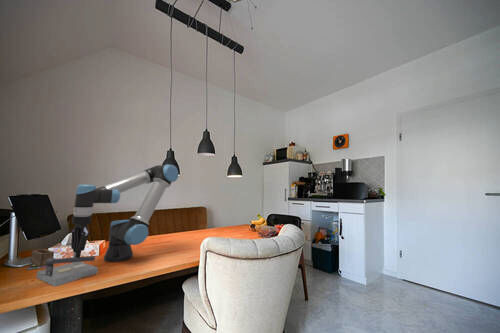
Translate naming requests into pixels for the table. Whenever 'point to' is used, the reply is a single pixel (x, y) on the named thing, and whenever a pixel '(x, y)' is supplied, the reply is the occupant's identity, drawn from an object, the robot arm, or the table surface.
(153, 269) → the table surface
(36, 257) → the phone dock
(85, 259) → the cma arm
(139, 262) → the table surface
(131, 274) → the table surface
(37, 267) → the smartphone
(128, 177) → the robot arm
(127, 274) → the table surface
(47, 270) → the plate
